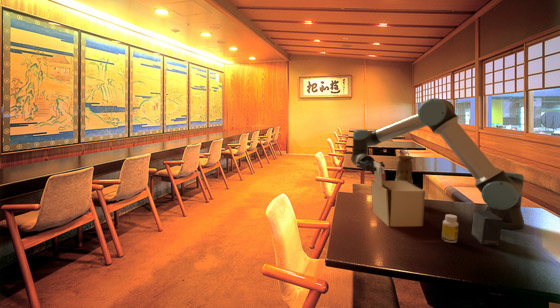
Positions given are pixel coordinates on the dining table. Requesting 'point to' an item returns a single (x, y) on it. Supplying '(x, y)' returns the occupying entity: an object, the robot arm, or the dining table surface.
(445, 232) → the supplement bottle
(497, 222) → the small box
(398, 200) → the carton
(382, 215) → the front flap
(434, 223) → the dining table surface
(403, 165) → the lantern
